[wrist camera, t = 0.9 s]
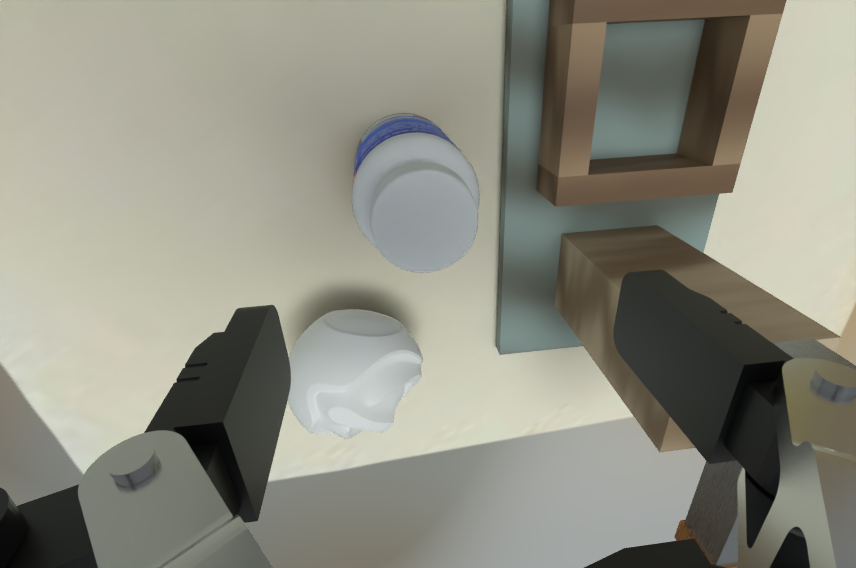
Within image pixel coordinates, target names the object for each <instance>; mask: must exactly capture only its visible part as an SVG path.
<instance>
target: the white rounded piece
mask: <svg viewBox="0 0 856 568" xmlns="http://www.w3.org/2000/svg"><path fill="white" fill-rule="evenodd" d="M288 358H289V362H290V369H291V386H290V392H289V396H288V403H289V406H290V408H291V410H292V412H293V413H294V415H295V417H296V418H297V420H298V421H299V422H300V424H301V425H302V426H303V427H304V428H305V429H306V430H307V431H308V432H310V433H315V434H336V435H338V436H340V437H342V438H344V439H348V438H351V437H353V436H355V435H357V434H358V433H360V432H362V431H363V430H368V431H374V432H385V431H386V430H387V429H388V428H389V427H390V426H391V425H392V424H393V422H394V411H395V408H396V406H397V405H398V403H399V402H400V400H401V398H402V397H403V396H404V395H405V394H406V393H407V392H408V391H409V390H410V389H411V388H412V387H413V386H414V385H415V384H416V383H417V382H418V381H420V379H421V377H422V375H421V363H422V362H423V357H422V354H421V351H420V349H419V347H418V345H417V343H416V341H415V340H414V338H413V337H412V336H411V334H410V333H409V332H408V330H407V329H406V328H405V327H404V326H403V325H402V324H401V323H400V322H399V321H398V320H396V319H394V318H392V317H390V316H387V315H384V314H380V313H377V312H373V311H368V310H355V309H344V310H336V311H332V312H329V313H327V314H325V315H323V316H322V317H320V318H319V319H317V320H316V321H315V322H314V323H313V324H311V325H310V326H309V327H308V328H307V329H306V330H305V331H304V332H303V334H302V335H301V336H300V337H299V339H298V340H297V342H296V343H295V345H294V347H293V349H292V350H291V353H290V355H289V357H288Z"/></svg>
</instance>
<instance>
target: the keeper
mask: <svg viewBox="0 0 856 568" xmlns="http://www.w3.org/2000/svg"><path fill="white" fill-rule="evenodd" d="M773 344H775V345H776V346H777V347H779V348H780V349H781V350H783V351H784V352H786V353H787V354H788V355H790V356H791V357H792V358H794V359H797V358H815V359H822V360H827V361H831V362H835V363H839V364H842V365H845V366H848V367H850V368H853V369H855V370H856V366H855V365H853V364H852V363H850V362H849V361H848V360H846V359H844V358H843V357H841V356H840V355H838V354H837V353H835V352H834V351H832V350H831V349H829V348H828V347H826V346H825V345H823V344H821V343H820V342H818V341H817V340H815V339H806V340H796V341H787V342H778V343H773ZM741 469H742V466H741V464H740V463H739V462H738V461H730V462H722V463H714V464H709V463H708V462H707V461H706V464H705V466H704V470H703V472H702V475H701V478H700V481H699V484H698V486H697V489H696V492H695V495H694V498H693V500H692V503H691V506H690V509H689V511H688V515H687V517H686V520H681V521H680V522H679V525H678V528H677V531H676V534H675V538H676V540H677V541H680V540H687V539H695V541H696V542H697V544H698V545H699V547H700V548H701V550H702V551H703V553H704V554H705V556H706V557H707V559H708V560H709V562H710V563H711V564H712V565H718V566H722V567H726V568H737V567H738V495H737V481H738V476H739V474H740V471H741Z"/></svg>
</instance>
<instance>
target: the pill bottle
mask: <svg viewBox="0 0 856 568" xmlns="http://www.w3.org/2000/svg"><path fill="white" fill-rule="evenodd" d="M479 196H480V193H479V185H478V181H477V177H476V174H475V172H474V170H473V167H472V166H471V164H470V162H469V161H468V159H467V158H466V157H465V156H464V154H463V153H462V152H461V151H460V150H459V149H458V148H457V147H456V146H455V145H454V143H453V142H452V141H451V140H450V139H449V138H448V137H447V136H446V135H445V134H444V133H443V131H442V130H441V129H440V128H439V127H438V126H437V125H435V124H434V123H433V122H431V121H429V120H428V119H425V118H423V117H421V116H417V115H413V114H395V115H391V116H388V117H385V118H383V119H381V120H379V121H378V122H376V123H375V124H373V125H372V126H371V127H370V128H369V129H368V130H367V131H366V133H365V134H364V135H363V137H362V139H361V141H360V143H359V145H358V148H357V151H356V156H355V164H354V178H353V188H352V206H353V212H354V216H355V219H356V221H357V224H358V226H359V228H360V230H361V231H362V233H363V234H364V236H365V237H366V238H367V239H368V241H370V242H371V243H372V244H373V245H374V246H375V247H376V248H378V249H379V251H380V252H381V254H382V255H383V256H384V257H385V258H386V259H387V260H388V261H389V262H391V263H392V264H394V265H395V266H397V267H399V268H401V269H404V270H407V271H411V272H419V273H426V272H433V271H438V270H441V269H443V268H446V267H448V266H450V265H451V264H453V263H455V262H456V261H457V260H459V259H460V258H461V257H462V256H463V255H464V254H465V253H466V252H467V250H468V249H469V248H470V246H471V244H472V242H473V240H474V238H475V235H476V232H477V227H478V207H479Z"/></svg>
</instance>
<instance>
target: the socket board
mask: <svg viewBox="0 0 856 568" xmlns="http://www.w3.org/2000/svg"><path fill="white" fill-rule="evenodd" d="M785 3H786V0H507V30H506V61H505V92H504V122H503V153H502V183H501V214H500V244H499V275H498V305H497V336H496V347H497V349H498V352H499V354H500V355H502V354H511V353H521V352H530V351H539V350H549V349H558V348H567V347H577V346H584V347H585V349H586V350H587V352H588V353H589V354H590V356H591V357H592V359H593V360H594V361H595V363H596V364H597V366H598V367H599V368H600V370H601V371H602V373H603V374H604V375H605V377H606V378H607V379H608V381H609V382H610V384H611V385H612V386H613V388H614V389H615V391H616V392H617V393H618V395H619V396H620V398H621V399H622V400H623V402H624V403H625V405H626V406H627V407H628V409H629V410H630V411H631V413H632V414H633V416H634V417H635V418H636V420H637V421H638V423H639V424H640V425H641V427H642V428H643V430H644V431H645V432H646V434H647V435H648V437H649V438H650V439H651V441H652V442H653V444H654V445H655V446H656V447H657V449H658V450H659V452H666V451H674V450H682V449H689V448H696V447H695V446H694V445H693V444H692V443H691V441H690V440H689V439H688V438H687V436H686V435H685V434H684V433H683V432H682V430H681V429H680V428H679V427H678V425H677V424H676V423H675V422H674V421H673V419H672V418H671V417H670V416H669V414H668V413H667V412H666V411H665V410H664V408H663V407H662V406H661V405H660V404H659V402H658V401H657V400H656V399H655V397H654V396H653V395H652V394H651V393H650V391H649V390H648V389H647V388H646V386H645V385H644V384H643V383H642V382H641V380H640V379H639V378H638V377H637V375H636V374H635V373H634V372H633V371H632V369H631V368H630V367H629V366H628V364H627V363H626V362H625V361H624V360H623V358H622V357H621V356H620V355H619V353H618V351H617V349H616V346H615V343H614V337H613V329H614V323H615V317H616V312H617V306H618V300H619V294H620V289H621V283H622V280H623V277H624V276H625V275H626V274H627V273H629V272H636V271H647V270H658V269H661V270H664V271H666V272H667V273H668V274H670V275H671V276H672V277H674V278H675V279H677V280H678V281H679V282H681V283H682V284H683V285H685V286H686V287H687V288H689V289H691V290H693V291H695V292H698V293H700V294H702V295H705V296H707V297H709V298H711V299H712V300H714V301H715V302H716V303H718V304H719V305H721V306H722V307H723V308H725V309H726V310H727V312H728V313H732V314H733V315H734V316H736V317H737V318H739V319H740V320H741V321H742V324H747V325H748V326H750V327H751V328H752V329H754V330H755V331H757V332H758V333H759V334H761V335H762V336H763V337H765V338H766V339H768V340H769V341H770V342H772V343H778V342H787V341H796V340H806V339H815V340H817V341H818V342H820V343H821V344H823V345H825V346H826V347H828V348H829V349H831V350H832V351H835V349H836V347H837V344H838V342H839V340H840V338H841V337H840V336H838V335H837V334H835V333H833V332H832V331H830V330H828V329H827V328H825V327H823V326H822V325H820V324H819V323H817V322H815V321H814V320H812V319H810V318H809V317H807V316H805V315H804V314H802V313H801V312H799V311H797V310H796V309H794V308H792V307H791V306H789V305H787V304H786V303H784V302H783V301H781V300H779V299H778V298H776V297H774V296H773V295H771V294H769V293H768V292H766V291H765V290H763V289H761V288H760V287H758V286H756V285H755V284H753V283H751V282H750V281H748V280H746V279H745V278H743V277H742V276H740V275H738V274H737V273H735V272H733V271H732V270H730V269H728V268H727V267H725V266H724V265H722V264H720V263H719V262H717V261H715V260H714V259H712V258H710V257H709V256H707V255H706V254H704V253H703V252H704V248H705V244H706V240H707V237H708V233H709V229H710V225H711V222H712V218H713V214H714V210H715V207H716V203H717V199H718V195H719V194H720V193H732V192H733V188H734V185H735V181H736V177H737V174H738V170H739V167H740V163H741V160H742V156H743V153H744V149H745V145H746V142H747V138H748V135H749V131H750V128H751V124H752V121H753V117H754V113H755V110H756V106H757V103H758V99H759V96H760V92H761V89H762V85H763V81H764V78H765V74H766V71H767V67H768V64H769V60H770V57H771V53H772V49H773V46H774V42H775V39H776V35H777V32H778V28H779V24H780V21H781V17H782V14H783V10H784V7H785Z"/></svg>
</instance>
